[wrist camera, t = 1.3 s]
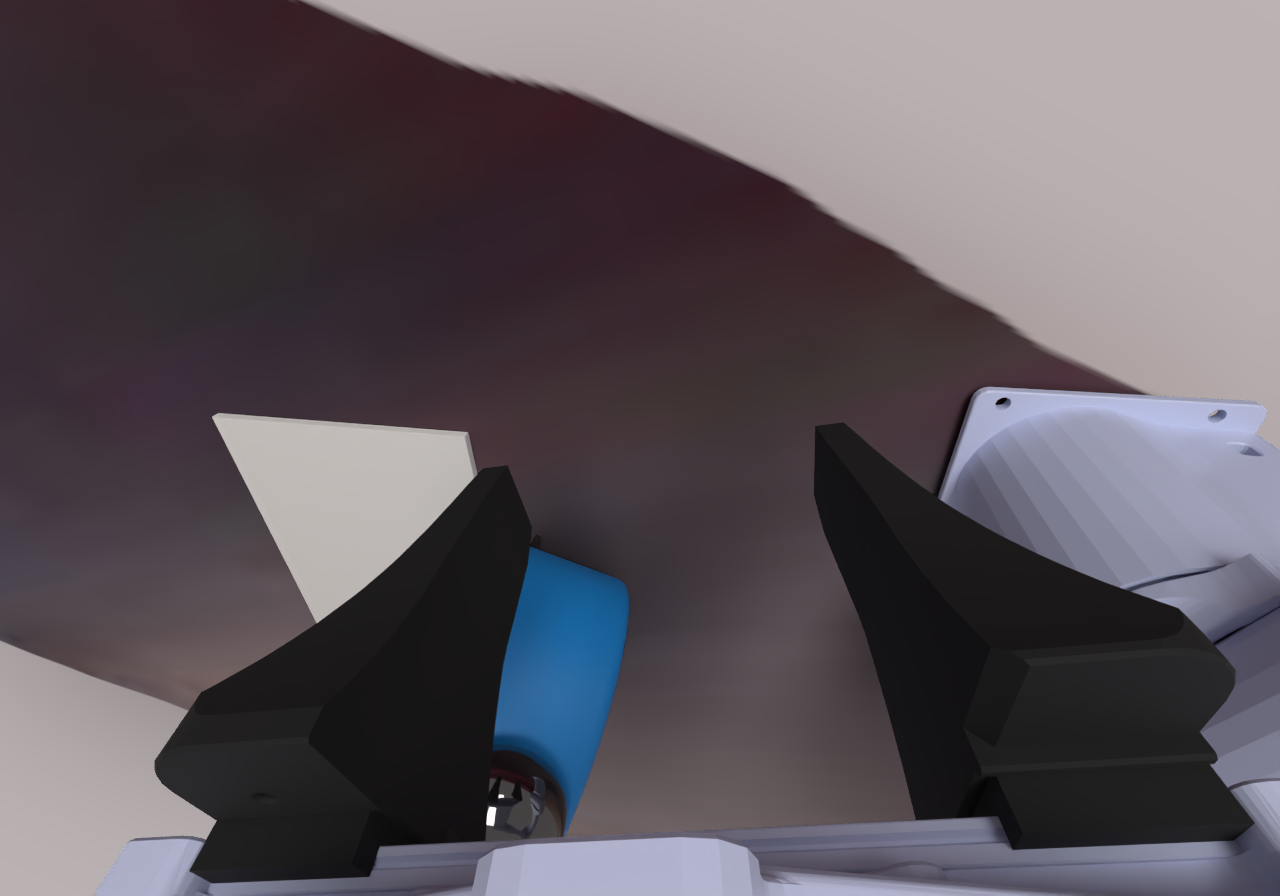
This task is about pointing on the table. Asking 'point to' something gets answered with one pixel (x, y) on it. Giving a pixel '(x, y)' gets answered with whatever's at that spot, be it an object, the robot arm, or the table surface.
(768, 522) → the table surface
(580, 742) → the alarm clock
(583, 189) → the table surface
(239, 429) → the mat
